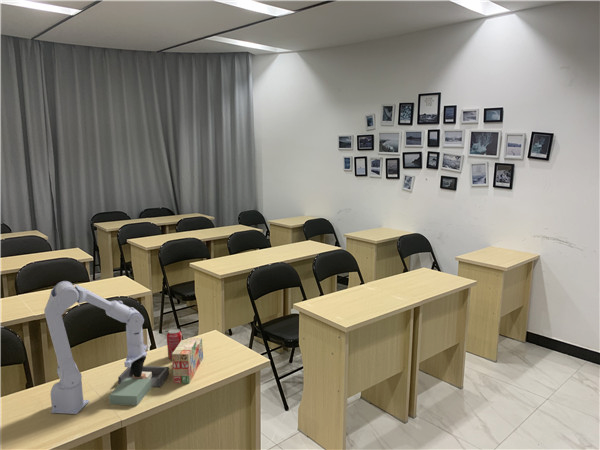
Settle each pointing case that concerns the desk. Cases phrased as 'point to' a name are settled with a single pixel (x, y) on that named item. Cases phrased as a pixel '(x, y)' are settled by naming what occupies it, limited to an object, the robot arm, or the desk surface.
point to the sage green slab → (130, 391)
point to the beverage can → (173, 340)
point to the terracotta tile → (143, 376)
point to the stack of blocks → (187, 359)
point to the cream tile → (148, 375)
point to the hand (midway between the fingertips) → (137, 376)
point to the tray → (157, 371)
